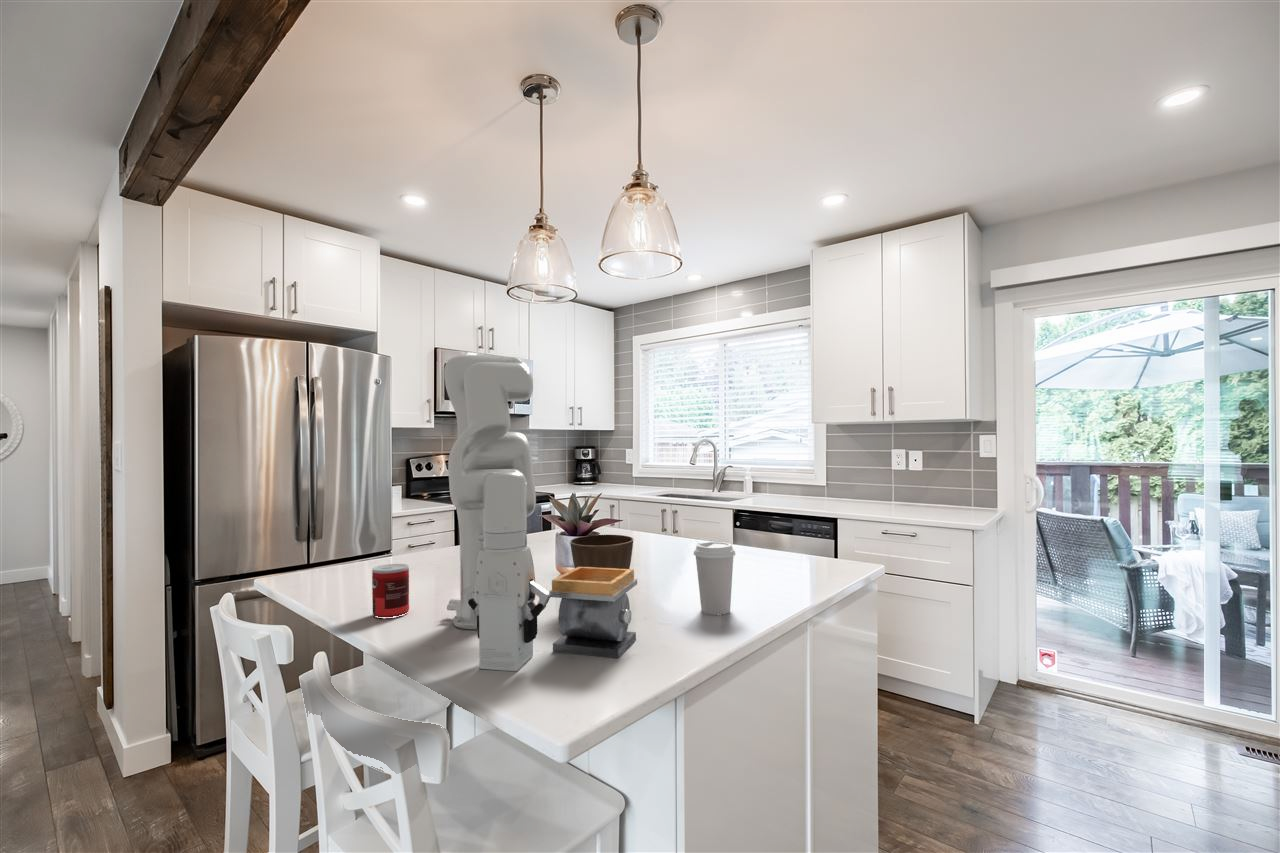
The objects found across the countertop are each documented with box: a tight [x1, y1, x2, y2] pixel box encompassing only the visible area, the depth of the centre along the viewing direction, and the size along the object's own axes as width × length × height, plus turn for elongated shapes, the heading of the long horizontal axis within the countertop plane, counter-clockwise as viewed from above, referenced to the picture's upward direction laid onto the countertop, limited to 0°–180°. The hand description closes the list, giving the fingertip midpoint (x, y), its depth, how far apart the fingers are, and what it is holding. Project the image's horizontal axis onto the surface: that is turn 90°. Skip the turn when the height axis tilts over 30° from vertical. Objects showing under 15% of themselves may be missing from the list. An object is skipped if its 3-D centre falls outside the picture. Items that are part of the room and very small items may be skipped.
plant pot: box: [569, 534, 634, 569], centre depth 136 cm, size 15×15×16 cm
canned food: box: [371, 563, 410, 617], centre depth 134 cm, size 8×8×11 cm
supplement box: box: [478, 595, 534, 672], centre depth 103 cm, size 7×7×13 cm
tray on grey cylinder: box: [547, 567, 638, 659], centre depth 111 cm, size 14×13×14 cm
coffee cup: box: [693, 541, 736, 616], centre depth 132 cm, size 10×10×15 cm
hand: (507, 638), depth 103 cm, fingers open, 8 cm apart
